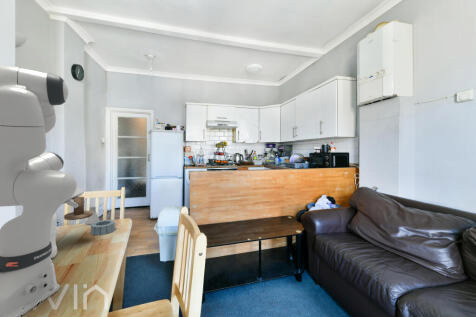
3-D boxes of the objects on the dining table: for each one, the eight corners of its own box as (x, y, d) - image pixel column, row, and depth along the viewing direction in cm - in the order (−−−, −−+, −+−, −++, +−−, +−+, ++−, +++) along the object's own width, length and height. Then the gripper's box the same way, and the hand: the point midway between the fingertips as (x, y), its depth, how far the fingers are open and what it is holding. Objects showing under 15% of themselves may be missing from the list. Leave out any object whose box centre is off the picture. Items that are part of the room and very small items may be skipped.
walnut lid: (83, 219, 93) (84, 200, 93) (57, 220, 92) (57, 200, 92) (97, 212, 104) (97, 195, 104) (74, 213, 103) (74, 195, 102)
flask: (92, 225, 120) (92, 209, 119) (82, 224, 121) (82, 208, 121) (102, 221, 127) (102, 206, 126) (93, 220, 128) (93, 205, 128)
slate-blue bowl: (108, 235, 108) (108, 226, 107) (86, 235, 106) (86, 227, 106) (118, 227, 118) (118, 219, 118) (98, 227, 117) (98, 219, 117)
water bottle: (45, 264, 79) (45, 201, 78) (27, 263, 79) (27, 201, 78) (61, 255, 86) (61, 197, 86) (45, 254, 87) (45, 197, 86)
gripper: (47, 184, 86) (75, 206, 89) (72, 178, 105) (94, 196, 108) (35, 195, 84) (62, 216, 87) (62, 186, 104) (84, 204, 107)
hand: (80, 205), depth 98 cm, fingers closed on walnut lid, 4 cm apart
